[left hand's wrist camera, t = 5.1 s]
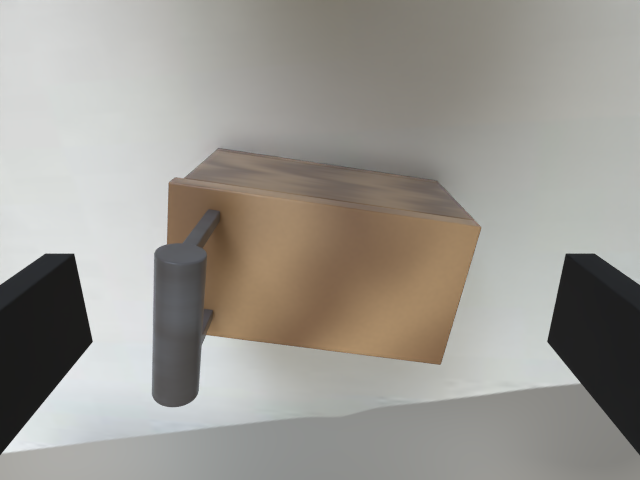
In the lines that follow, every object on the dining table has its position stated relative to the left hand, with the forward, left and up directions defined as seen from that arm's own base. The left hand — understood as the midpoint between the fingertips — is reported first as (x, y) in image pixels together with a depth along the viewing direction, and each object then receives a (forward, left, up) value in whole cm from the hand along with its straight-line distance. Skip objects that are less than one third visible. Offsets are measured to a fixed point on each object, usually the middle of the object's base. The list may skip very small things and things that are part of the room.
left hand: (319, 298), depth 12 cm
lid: (+1, -6, -14) cm, 15 cm away
